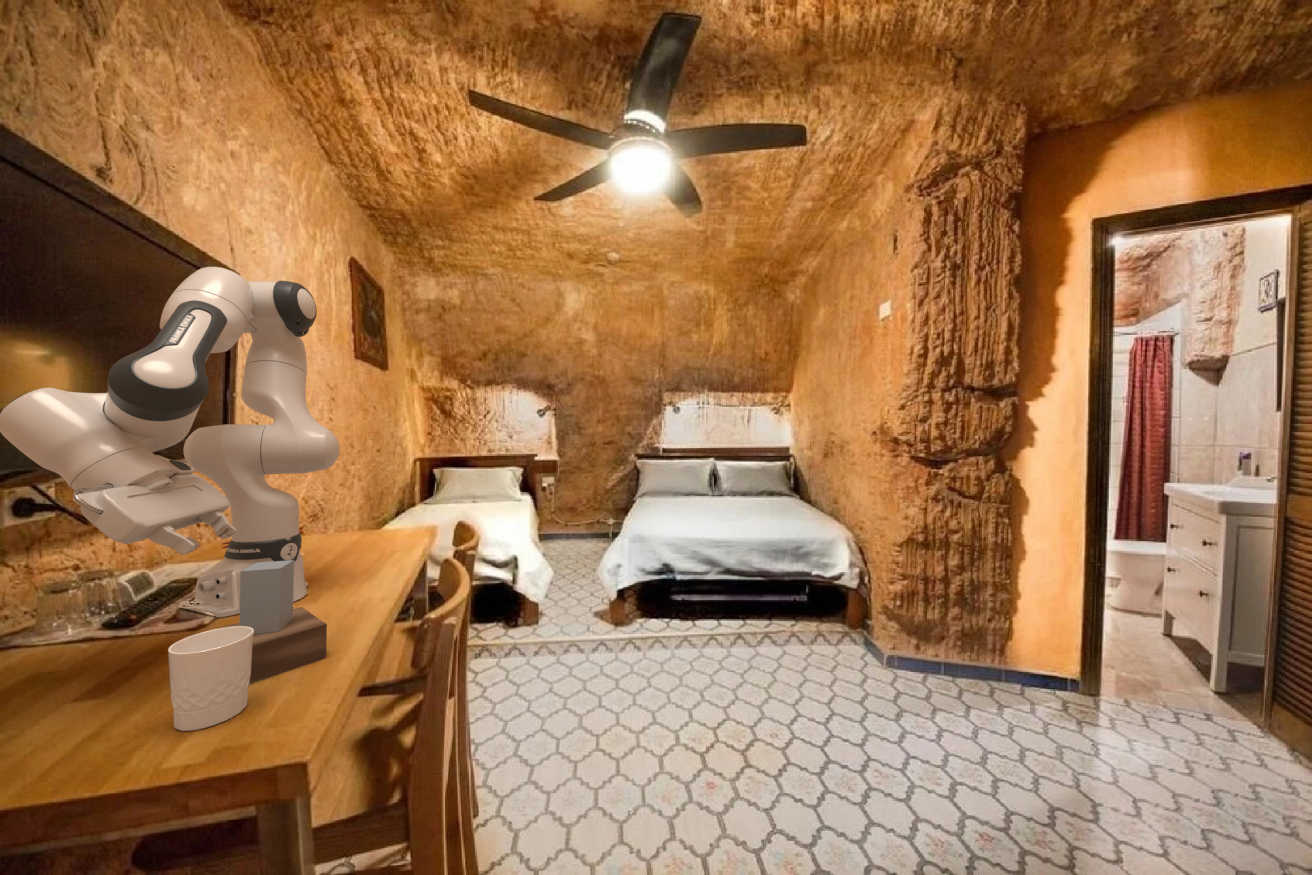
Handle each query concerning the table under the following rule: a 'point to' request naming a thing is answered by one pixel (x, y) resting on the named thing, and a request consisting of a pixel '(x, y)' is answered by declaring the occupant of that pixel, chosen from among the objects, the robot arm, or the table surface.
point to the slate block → (267, 596)
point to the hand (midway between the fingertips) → (213, 542)
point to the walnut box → (288, 646)
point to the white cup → (210, 676)
